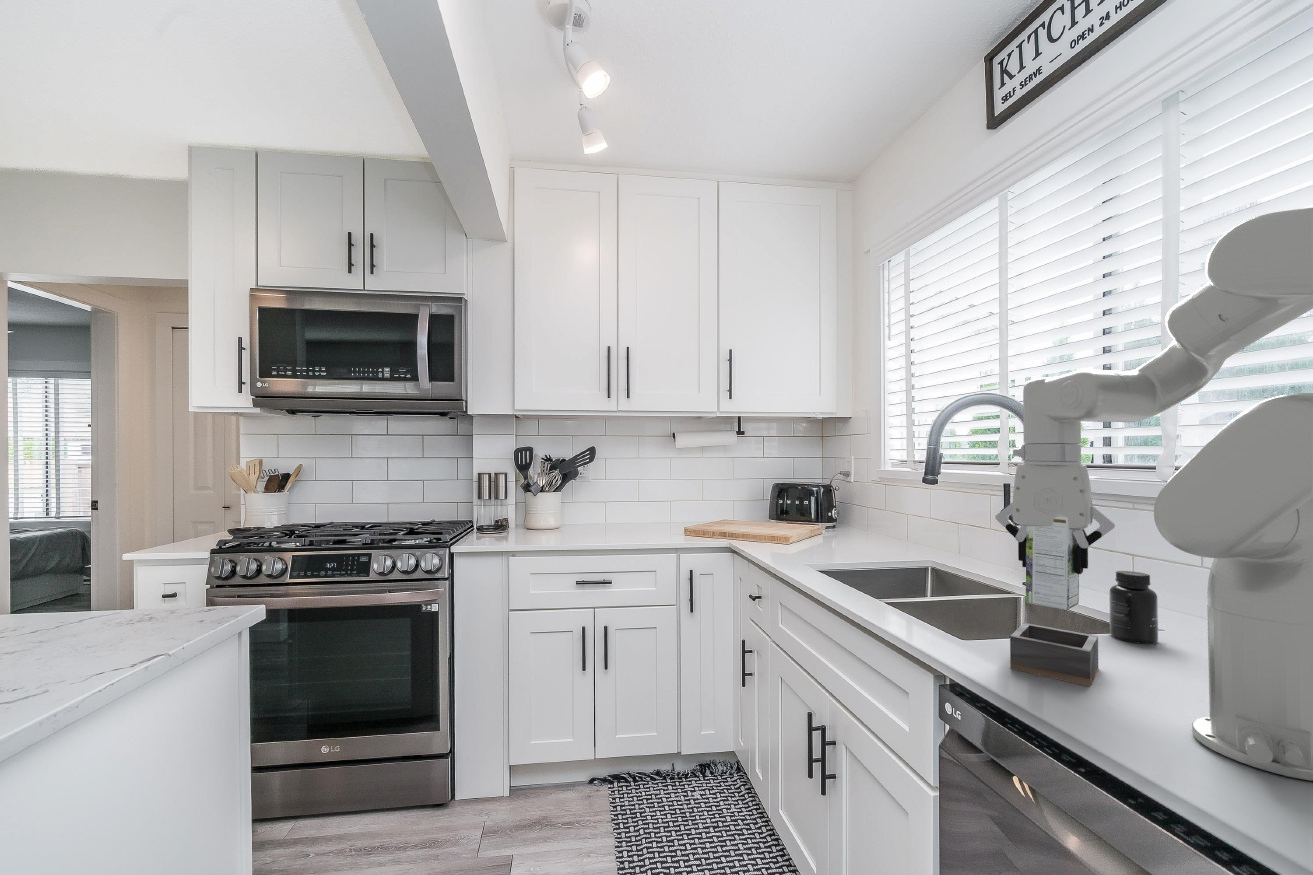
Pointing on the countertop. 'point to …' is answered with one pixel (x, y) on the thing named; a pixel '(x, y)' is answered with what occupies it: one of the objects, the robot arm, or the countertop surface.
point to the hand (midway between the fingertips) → (1052, 568)
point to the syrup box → (1051, 565)
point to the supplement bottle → (1133, 608)
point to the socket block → (1054, 653)
